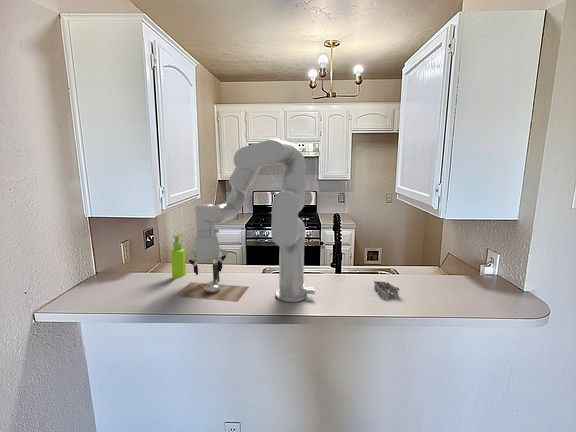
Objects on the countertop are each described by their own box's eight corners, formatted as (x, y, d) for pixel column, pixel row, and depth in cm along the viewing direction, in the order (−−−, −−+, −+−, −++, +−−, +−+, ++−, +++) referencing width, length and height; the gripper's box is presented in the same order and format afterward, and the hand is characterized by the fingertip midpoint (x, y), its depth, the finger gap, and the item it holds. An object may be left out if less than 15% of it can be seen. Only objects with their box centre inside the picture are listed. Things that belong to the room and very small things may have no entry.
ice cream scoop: (219, 293, 118) (218, 275, 116) (203, 293, 117) (202, 276, 116) (223, 278, 133) (223, 263, 131) (209, 279, 132) (209, 263, 131)
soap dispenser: (189, 274, 142) (186, 233, 139) (182, 280, 136) (180, 236, 132) (177, 274, 143) (174, 233, 140) (170, 279, 136) (167, 236, 133)
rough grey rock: (400, 299, 117) (400, 289, 116) (381, 299, 117) (381, 289, 116) (389, 288, 128) (390, 278, 127) (372, 288, 127) (372, 279, 127)
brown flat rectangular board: (249, 290, 125) (249, 286, 125) (237, 305, 111) (237, 300, 111) (191, 285, 130) (191, 281, 129) (173, 299, 116) (173, 295, 116)
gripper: (224, 229, 133) (226, 266, 136) (183, 233, 126) (186, 272, 129) (228, 233, 127) (230, 272, 130) (185, 237, 120) (188, 278, 123)
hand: (208, 272), depth 129 cm, fingers open, 9 cm apart
